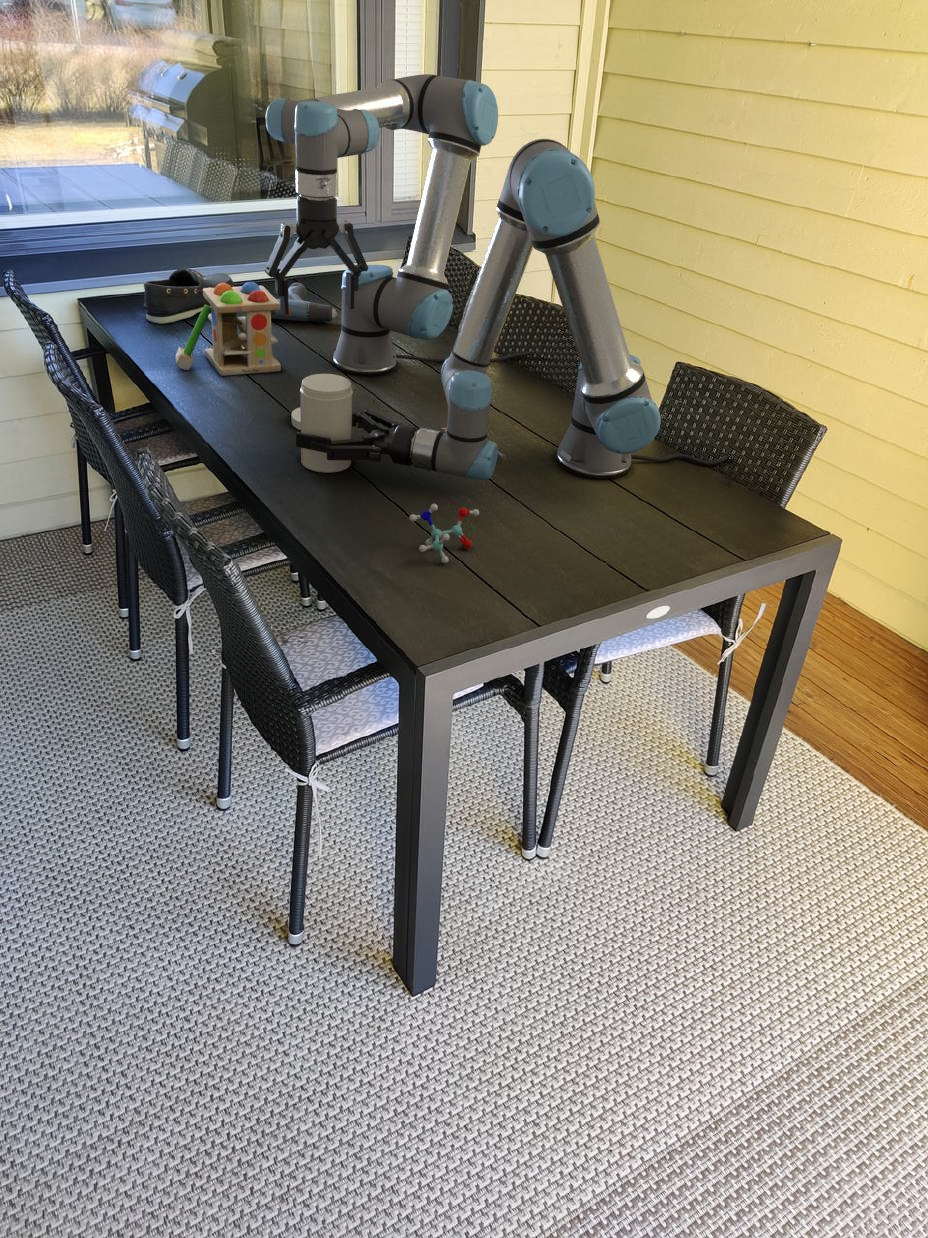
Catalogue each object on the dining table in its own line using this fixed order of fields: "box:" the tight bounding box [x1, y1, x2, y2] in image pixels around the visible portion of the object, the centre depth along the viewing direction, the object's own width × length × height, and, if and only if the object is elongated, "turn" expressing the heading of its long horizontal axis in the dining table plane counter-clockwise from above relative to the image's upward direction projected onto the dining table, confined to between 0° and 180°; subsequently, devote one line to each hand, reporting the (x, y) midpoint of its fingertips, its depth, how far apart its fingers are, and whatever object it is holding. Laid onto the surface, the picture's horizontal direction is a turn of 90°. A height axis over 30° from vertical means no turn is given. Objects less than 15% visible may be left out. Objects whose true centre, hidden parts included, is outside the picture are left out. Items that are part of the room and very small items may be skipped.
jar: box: [299, 373, 354, 473], centre depth 188 cm, size 10×10×16 cm
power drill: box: [271, 282, 338, 322], centre depth 265 cm, size 5×19×20 cm
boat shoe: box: [143, 267, 235, 324], centre depth 260 cm, size 13×33×10 cm, turn 147°
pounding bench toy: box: [174, 281, 282, 377], centre depth 225 cm, size 23×14×18 cm, turn 116°
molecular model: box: [408, 503, 480, 564], centre depth 166 cm, size 12×10×10 cm
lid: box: [290, 406, 301, 431], centre depth 207 cm, size 11×11×2 cm
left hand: (317, 309), depth 194 cm, fingers open, 13 cm apart
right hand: (311, 426), depth 189 cm, fingers open, 13 cm apart
